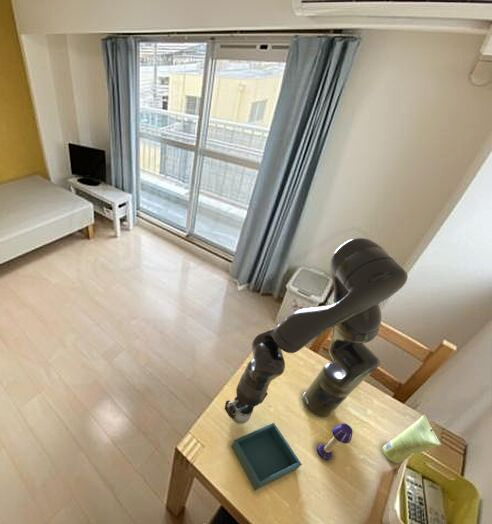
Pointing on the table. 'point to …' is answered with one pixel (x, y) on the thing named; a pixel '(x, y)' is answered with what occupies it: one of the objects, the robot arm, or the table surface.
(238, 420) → the camera lens
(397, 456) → the tube
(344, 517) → the table surface
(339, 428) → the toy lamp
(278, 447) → the crate
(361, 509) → the table surface
